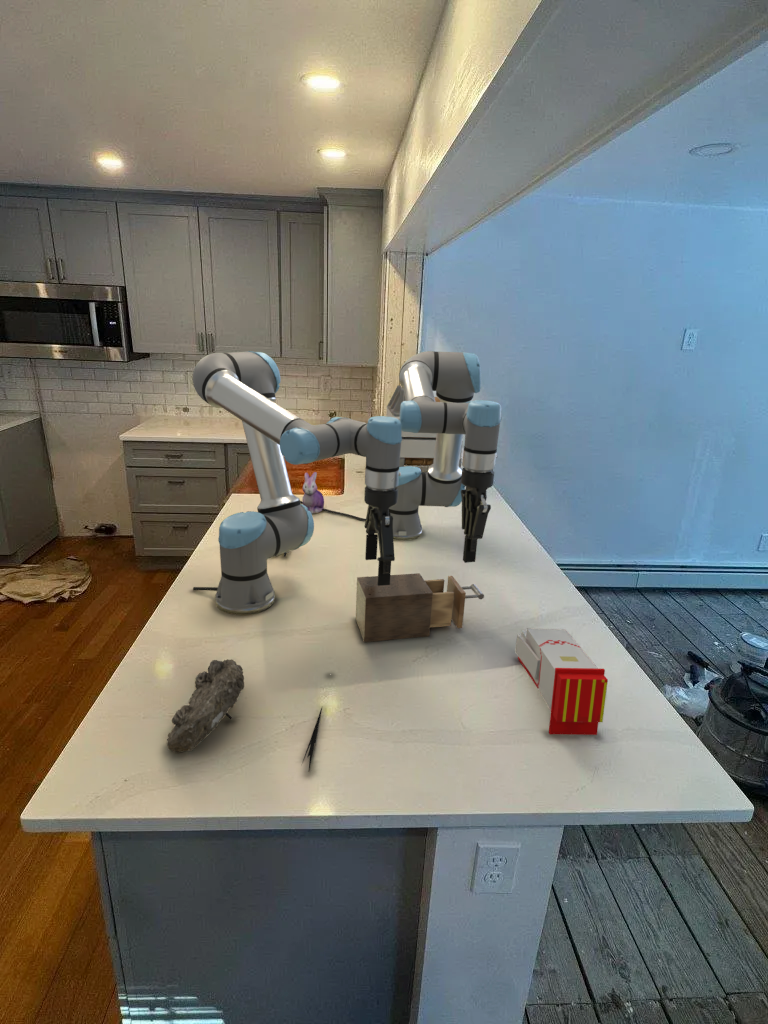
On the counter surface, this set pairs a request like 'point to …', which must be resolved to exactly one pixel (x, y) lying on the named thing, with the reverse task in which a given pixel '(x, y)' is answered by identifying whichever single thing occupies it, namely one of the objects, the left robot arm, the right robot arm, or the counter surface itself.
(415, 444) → the transformer
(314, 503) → the figurine
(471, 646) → the counter surface
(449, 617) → the drawer
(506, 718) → the counter surface
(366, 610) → the cabinet
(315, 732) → the feather
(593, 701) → the toy
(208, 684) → the fossil
